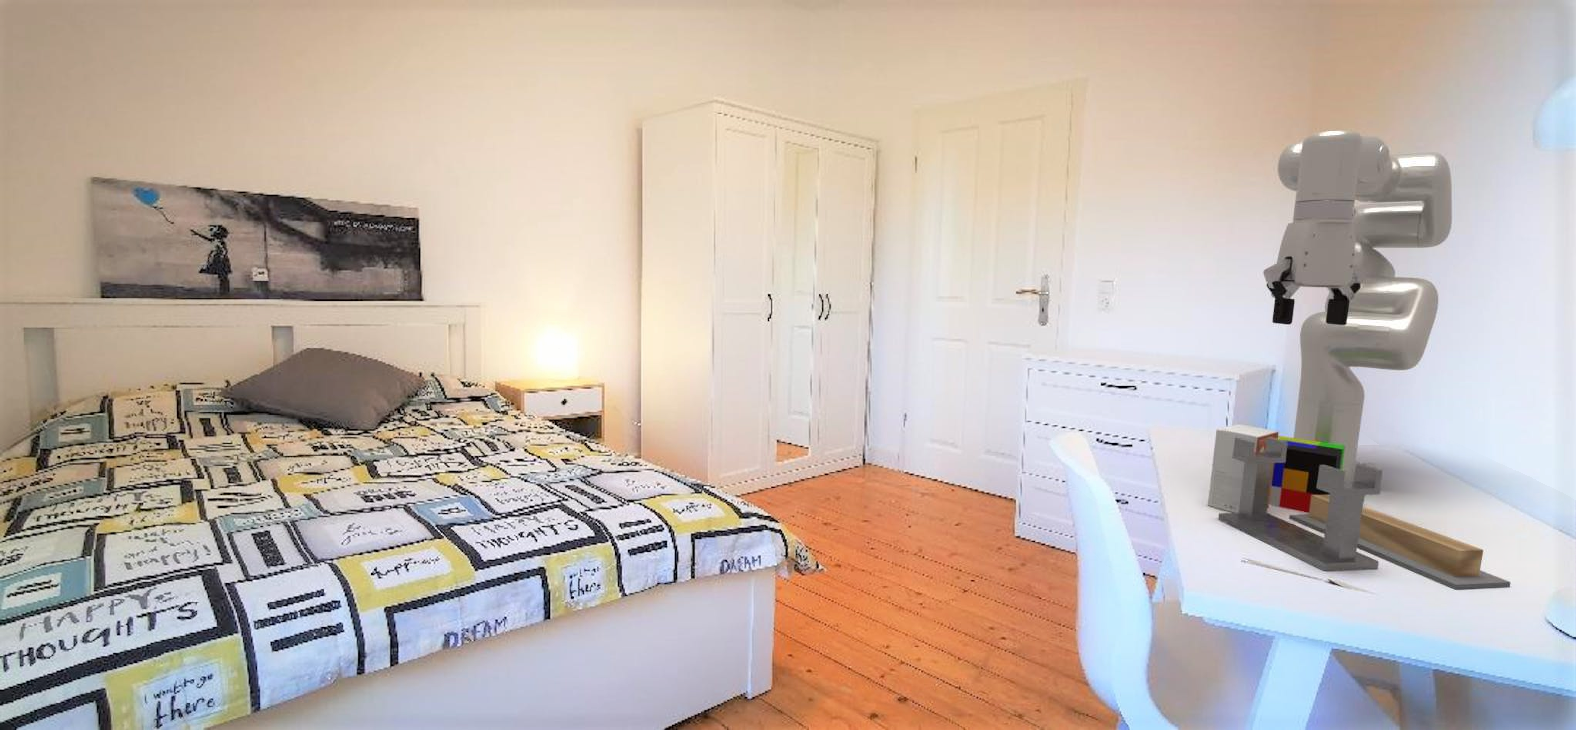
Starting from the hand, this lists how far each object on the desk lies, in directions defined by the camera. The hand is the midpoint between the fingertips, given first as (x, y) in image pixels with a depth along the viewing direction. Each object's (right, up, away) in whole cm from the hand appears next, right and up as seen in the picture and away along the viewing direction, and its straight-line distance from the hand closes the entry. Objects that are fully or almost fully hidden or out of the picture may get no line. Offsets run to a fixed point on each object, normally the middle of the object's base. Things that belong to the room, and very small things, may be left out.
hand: (1308, 323), depth 115 cm
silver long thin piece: (-15, -34, -24) cm, 45 cm away
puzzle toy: (+3, -30, +7) cm, 31 cm away
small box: (-9, -30, +4) cm, 32 cm away
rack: (-11, -32, -11) cm, 35 cm away
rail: (+2, -32, -12) cm, 34 cm away
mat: (+2, -33, -13) cm, 35 cm away
